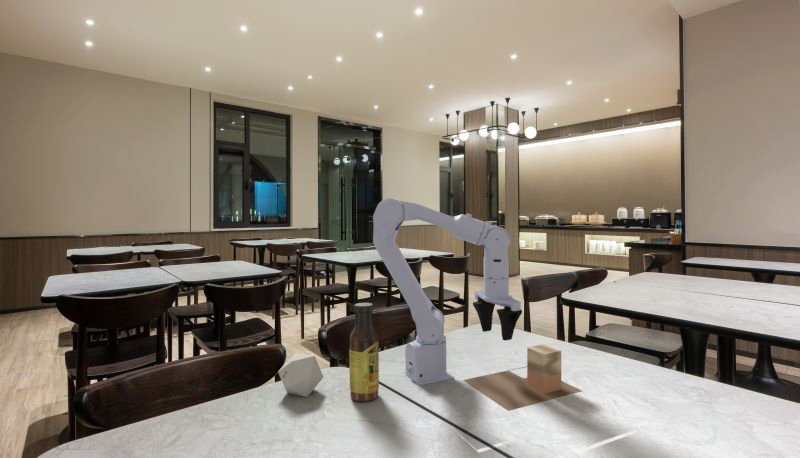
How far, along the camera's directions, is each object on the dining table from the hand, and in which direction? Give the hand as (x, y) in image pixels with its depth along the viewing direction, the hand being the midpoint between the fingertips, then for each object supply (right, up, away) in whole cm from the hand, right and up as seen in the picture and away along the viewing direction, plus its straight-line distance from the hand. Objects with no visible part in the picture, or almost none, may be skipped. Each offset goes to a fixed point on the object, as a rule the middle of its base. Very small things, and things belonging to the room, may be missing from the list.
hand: (496, 335), depth 94 cm
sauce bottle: (-30, -11, -8) cm, 33 cm away
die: (-45, -11, -5) cm, 46 cm away
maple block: (+9, -7, -6) cm, 13 cm away
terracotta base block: (+9, -10, -5) cm, 15 cm away
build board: (+4, -11, -4) cm, 12 cm away
